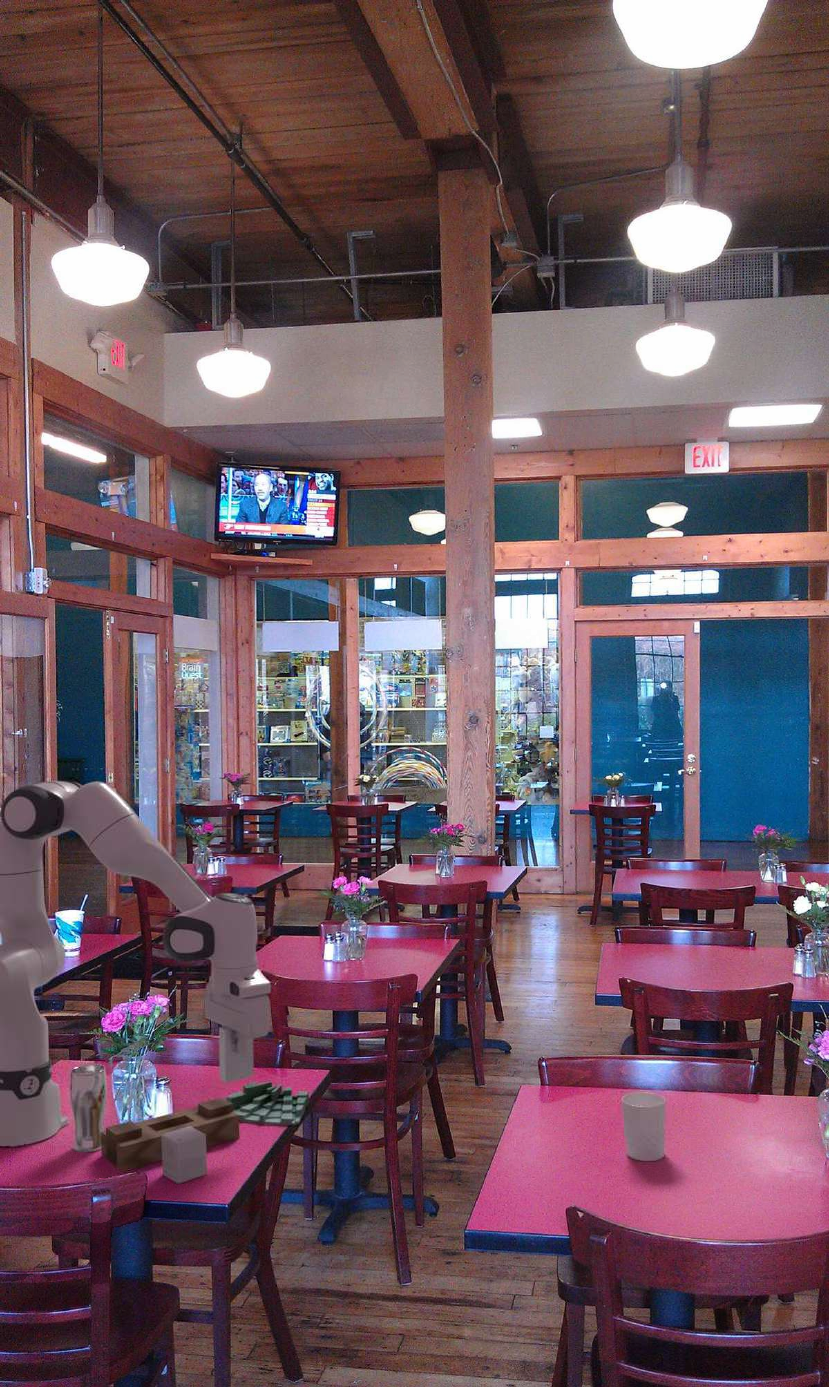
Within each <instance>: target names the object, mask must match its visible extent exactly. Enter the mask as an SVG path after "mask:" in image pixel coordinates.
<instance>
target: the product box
mask: <svg viewBox="0 0 829 1387" xmlns="http://www.w3.org/2000/svg"><path fill="white" fill-rule="evenodd" d="M207 1156H208V1155H207V1148H206V1134H204V1133H202V1132H200V1131H198V1130H197V1129H195V1128H193V1127H191V1126H188V1127H185V1128H181V1129H178V1130H175V1131H172V1132H168V1133H165V1134H162V1161H161V1162H162V1176H165V1177H166V1178H168V1179H170V1180H171V1181H173V1182H174V1183H176V1184H178V1185H179V1184H182V1183H184V1182H185V1183H186V1182H188V1181H192V1180H194V1179H197V1178H201V1177H203V1176H206V1175H208V1164H207V1163H208V1161H207V1160H208V1157H207Z"/></svg>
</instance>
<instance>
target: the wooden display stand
mask: <svg viewBox="0 0 829 1387" xmlns="http://www.w3.org/2000/svg"><path fill="white" fill-rule="evenodd" d="M188 1126H191V1127H193V1128H195V1129H197V1130H198V1131H200V1132H202V1133H204V1134H206V1149H207V1148H209V1147H213V1146H216V1145H220V1144H224V1143H227V1142H230V1141H234V1140H237V1139H240V1121H239V1115H238V1114H236V1113H234V1112H233V1104H232V1103H230V1102H228V1101H226V1099H224V1098H222V1097H218V1098H214V1099H210V1100H206V1101H202V1102H198V1104H197V1106H195V1107H190V1108H187V1109H183V1110H180V1111H176V1112H173V1113H172V1112H170V1113H168V1114H164V1115H160V1116H157V1117H152V1118H149V1119H145V1120H142V1121H141V1120H140V1121H137V1122H134V1121H131V1120H129V1121H125V1122H122V1123H119V1124H114V1125H113V1124H112V1125H110V1126H106V1127H105V1130H104V1131H102V1132H101V1149H100V1150H101V1157H103V1159H105V1160H106V1161H108V1162H109V1163H111V1164H112V1165H113V1166H114V1167H115V1168H117V1169H118V1170H119V1171H120V1172H122V1173H123V1172H126V1171H130V1170H134V1169H136V1168H139V1167H144V1166H147V1165H150V1164H151V1165H152V1164H154V1163H158V1162H162V1134H165V1133H168V1132H172V1131H175V1130H178V1129H181V1128H185V1127H188Z"/></svg>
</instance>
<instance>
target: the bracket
mask: <svg viewBox="0 0 829 1387" xmlns="http://www.w3.org/2000/svg"><path fill="white" fill-rule="evenodd" d="M237 1042H238V1037H237V1031H234V1030H232V1029H230V1028H228V1027H226V1026H223V1027H222V1026H220V1027H219V1026H218V1047H219V1052H218V1053H219V1056H218V1057H219V1080H220V1081H221V1082H223V1083H225V1084H229V1083H231V1082H237V1081H239V1080H243V1079H244V1080H245V1079H248V1078H253V1077H254V1038H249V1040H248V1043H247V1052H246V1053H245V1054H241V1055H240V1054H238V1053H236V1052H235V1044H237Z"/></svg>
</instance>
